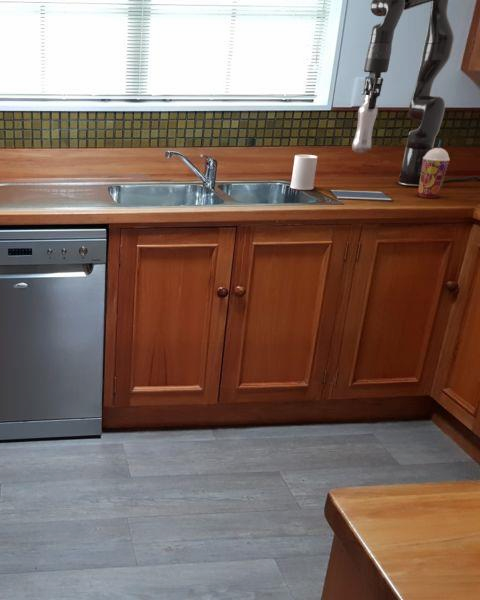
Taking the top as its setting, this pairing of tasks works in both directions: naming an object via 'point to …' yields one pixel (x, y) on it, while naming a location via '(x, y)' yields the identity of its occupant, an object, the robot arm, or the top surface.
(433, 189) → the smoothie
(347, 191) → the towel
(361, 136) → the plastic bottle
